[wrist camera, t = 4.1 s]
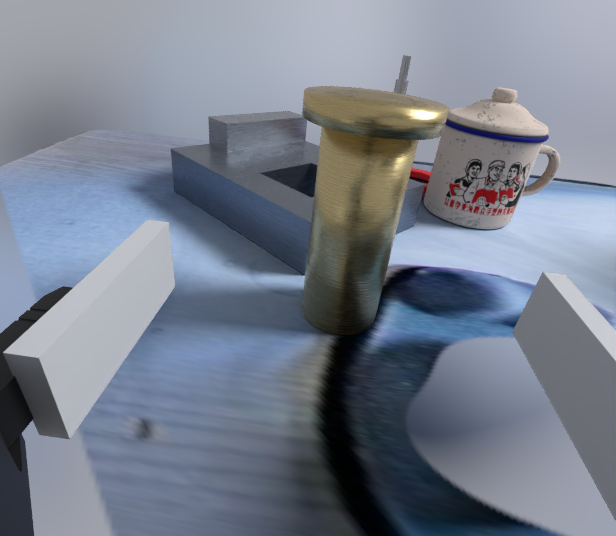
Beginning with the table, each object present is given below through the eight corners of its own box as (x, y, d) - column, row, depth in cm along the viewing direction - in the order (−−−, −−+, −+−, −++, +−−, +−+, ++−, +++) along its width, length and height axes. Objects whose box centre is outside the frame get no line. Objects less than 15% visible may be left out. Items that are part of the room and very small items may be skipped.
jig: (413, 226, 35) (433, 155, 32) (304, 275, 26) (315, 184, 23) (284, 169, 45) (288, 111, 42) (174, 190, 36) (168, 119, 33)
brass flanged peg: (411, 316, 24) (474, 109, 17) (343, 365, 19) (394, 117, 13) (334, 270, 27) (364, 85, 21) (264, 303, 23) (274, 86, 17)
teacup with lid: (434, 227, 35) (475, 90, 29) (411, 192, 43) (440, 77, 37) (558, 238, 36) (624, 107, 30) (514, 201, 44) (559, 91, 38)
